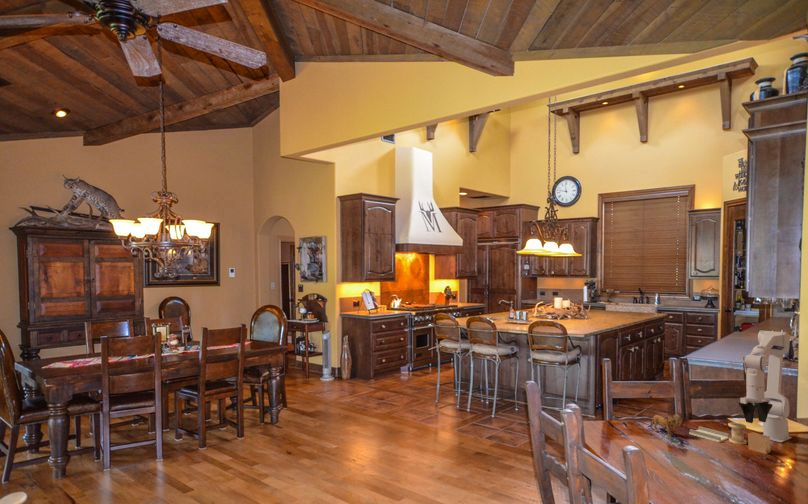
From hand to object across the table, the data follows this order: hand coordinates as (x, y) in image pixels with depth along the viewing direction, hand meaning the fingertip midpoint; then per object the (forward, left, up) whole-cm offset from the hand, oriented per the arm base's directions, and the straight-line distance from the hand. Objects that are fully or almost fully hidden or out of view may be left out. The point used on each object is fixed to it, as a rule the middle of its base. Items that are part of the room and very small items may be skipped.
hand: (755, 422), depth 189 cm
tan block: (-2, 0, -11) cm, 11 cm away
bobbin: (-5, -9, -11) cm, 15 cm away
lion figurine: (+8, -31, -12) cm, 34 cm away
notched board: (-3, -19, -11) cm, 22 cm away
